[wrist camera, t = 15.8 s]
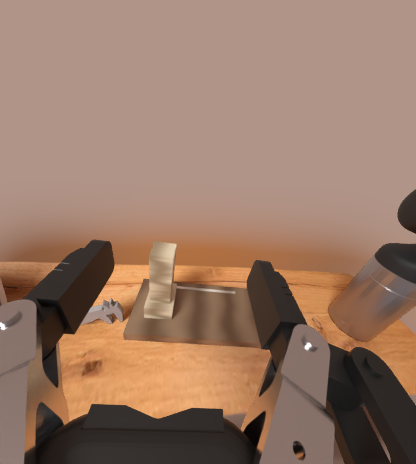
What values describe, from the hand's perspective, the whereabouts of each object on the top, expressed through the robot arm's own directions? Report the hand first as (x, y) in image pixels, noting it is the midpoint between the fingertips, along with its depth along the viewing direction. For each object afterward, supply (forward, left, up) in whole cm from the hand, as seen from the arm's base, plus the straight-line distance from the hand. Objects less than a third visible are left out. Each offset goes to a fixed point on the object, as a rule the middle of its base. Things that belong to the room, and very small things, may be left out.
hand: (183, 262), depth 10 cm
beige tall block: (+4, -14, -25) cm, 29 cm away
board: (-4, -14, -27) cm, 31 cm away
